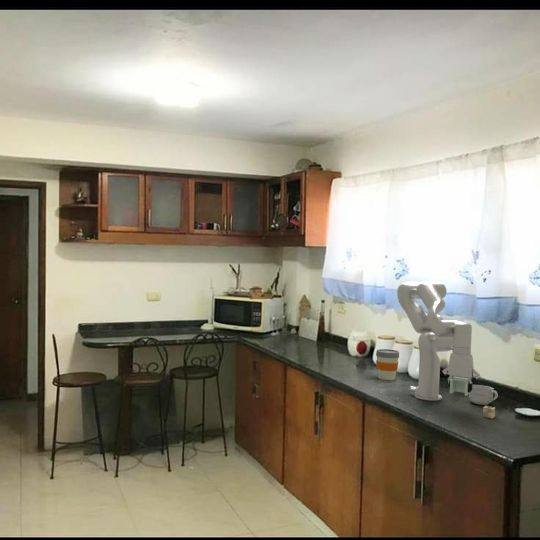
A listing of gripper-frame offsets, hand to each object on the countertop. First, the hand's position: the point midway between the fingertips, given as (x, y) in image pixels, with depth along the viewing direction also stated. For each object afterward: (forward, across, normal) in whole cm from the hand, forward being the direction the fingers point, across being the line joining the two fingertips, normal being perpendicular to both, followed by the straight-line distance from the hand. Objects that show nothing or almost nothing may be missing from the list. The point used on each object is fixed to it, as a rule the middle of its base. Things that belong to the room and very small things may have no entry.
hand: (460, 390), depth 254 cm
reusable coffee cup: (+8, -50, +40) cm, 65 cm away
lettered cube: (+9, +12, 0) cm, 16 cm away
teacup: (+9, +6, +19) cm, 22 cm away
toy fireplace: (+1, 0, 0) cm, 1 cm away
